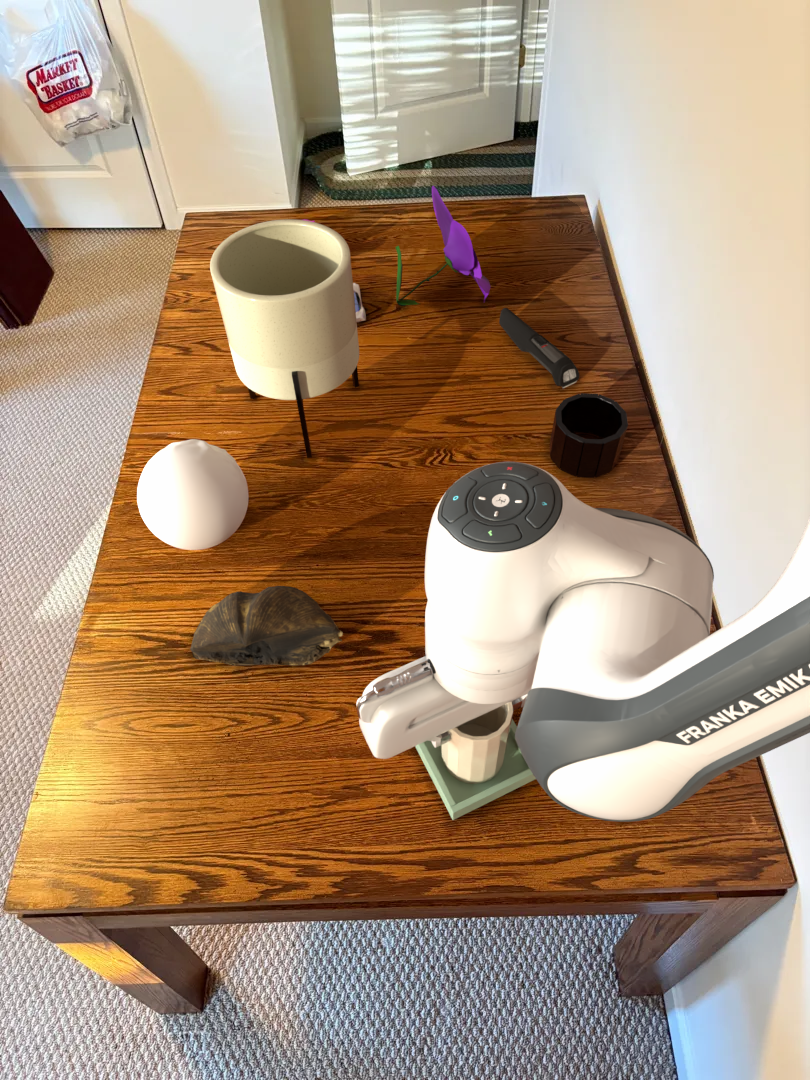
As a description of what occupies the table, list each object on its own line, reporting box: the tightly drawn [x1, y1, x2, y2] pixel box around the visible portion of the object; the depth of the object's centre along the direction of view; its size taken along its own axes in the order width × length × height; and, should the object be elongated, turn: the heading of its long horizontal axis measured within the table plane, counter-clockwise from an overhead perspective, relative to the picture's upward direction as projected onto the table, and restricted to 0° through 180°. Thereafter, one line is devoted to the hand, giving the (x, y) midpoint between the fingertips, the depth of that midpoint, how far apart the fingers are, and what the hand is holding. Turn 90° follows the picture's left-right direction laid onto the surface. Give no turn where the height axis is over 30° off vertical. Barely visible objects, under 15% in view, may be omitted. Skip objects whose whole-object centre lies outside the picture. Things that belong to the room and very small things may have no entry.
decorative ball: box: [136, 438, 250, 551], centre depth 88 cm, size 12×12×12 cm
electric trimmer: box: [498, 307, 580, 389], centre depth 109 cm, size 4×16×3 cm, turn 31°
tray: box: [414, 718, 536, 821], centre depth 75 cm, size 9×9×2 cm
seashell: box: [190, 585, 344, 667], centre depth 81 cm, size 16×9×7 cm, turn 89°
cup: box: [441, 701, 514, 784], centre depth 71 cm, size 6×6×10 cm
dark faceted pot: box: [549, 392, 629, 479], centre depth 96 cm, size 8×8×6 cm
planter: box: [209, 218, 360, 459], centre depth 95 cm, size 15×16×23 cm
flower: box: [395, 185, 492, 307], centre depth 114 cm, size 15×15×14 cm
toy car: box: [353, 282, 367, 323], centre depth 117 cm, size 4×12×3 cm, turn 10°
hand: (476, 719), depth 69 cm, fingers closed on cup, 6 cm apart
